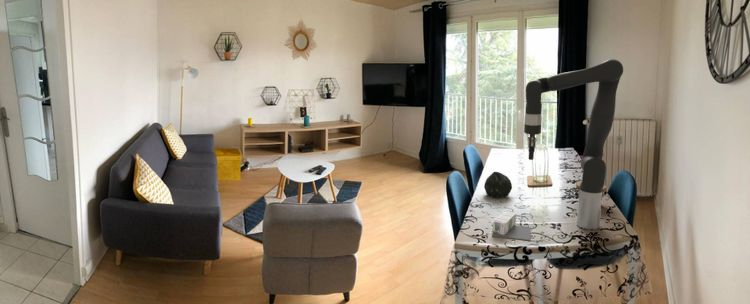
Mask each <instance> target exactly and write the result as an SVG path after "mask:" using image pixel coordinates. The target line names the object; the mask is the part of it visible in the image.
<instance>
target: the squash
mask: <svg viewBox="0 0 750 304" xmlns="http://www.w3.org/2000/svg"><path fill="white" fill-rule="evenodd" d="M485 179H486V180H485V182H484V186H483V187H484V190H485V194H486V195H487V196H488V197H492V198H499V199H503V198H507V197H508V196H509V195H510V193H511V191H512V189H513V185H512V182H511V180H510V179H509V177H508V176H507V175H505V174H504V173H501V172H499V171H493V172H491V174H490V175H488V176H487V177H486V178H485Z"/></svg>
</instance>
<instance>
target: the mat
mask: <svg viewBox="0 0 750 304" xmlns="http://www.w3.org/2000/svg"><path fill="white" fill-rule="evenodd" d="M491 234H492V235H491V237H492V238H500V239H501V238H502V239H509V240H510V239H512V240H519V241H520V240H521V241H527V242H528V241H529V242H531V226H524V225H516V224H515V225H514V226H513V227H512V228H511V229H510V230H509V231H508V232H507V233H506V234H505V235H501V234H497V233H493V232H492V233H491Z"/></svg>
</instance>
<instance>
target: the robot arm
mask: <svg viewBox="0 0 750 304" xmlns="http://www.w3.org/2000/svg"><path fill="white" fill-rule="evenodd" d="M623 73H624V66H623V64H622V62H621V61H620V60H617V59H614V58H610V59H609V58H608V59H607V60H605V61H603V62H602V63H600V64H599V63H598V64H597V65H594V66H590V67H588V68H584V69H579V70H573V71H568V72H567V71H566V72H561V73H558V74H553V75H551V76H548V77H541V78H535V79H531V80H530V81H529V82H528V83H527V84H526V85H525V86H526V87H525V102H526V103H525V115H524V125H523V127H524V128H523V132H524V133H523V134H526V135H529V136H527V148H528V150H527V151H528V160H529V161H533V160H534V157H535V149H536V147H537V139H538V138H537V136H536V135H540V134H542V121H543V119H542V114H543V113H542V112H543V111H542V110H543V103H542V94H544V93H548V92H556V91H562V90H567V89H571V88H573V87H578V86H581V85H585V84H586V85H587V84H591V83H598V88H597V92H596V95H595V98H594V101H593V105H592V106H591V107H592V108H591V111H590V116H589V123H588V129H587V138H586V144H585V147H584V151H583V154H582V156H583V157H582V159H580V167H581V169H582V176H581V177H582V178H581V181H582V183H581V184H580V192H579V195H578V205H577V215H576V216H577V217H576V226H577V225H578V226H577V227H578V228H581V227H582V228H581V229H584V228H586V229H585V230H591V229H593V230H596V229H595V228H599V229H600V226H601V225H600V224H601V215H602V207H601V206H602V201H601V198H602V199H603V197H602V189H603V186H604V185H605V182H606V174H607V165H606V162H605V161H604V160H603V157H602V153H603V152H604V147H605V143H606V141H607V139H608V136H609V135H610V132H611V130H612V128H613V123H614V119H615V112H616V111H615V110H616V102H617V101H616V99H617V90H618V88H619V87H618V86H619V83H620V80H621V77H622V75H623ZM603 154H604V153H603Z"/></svg>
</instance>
